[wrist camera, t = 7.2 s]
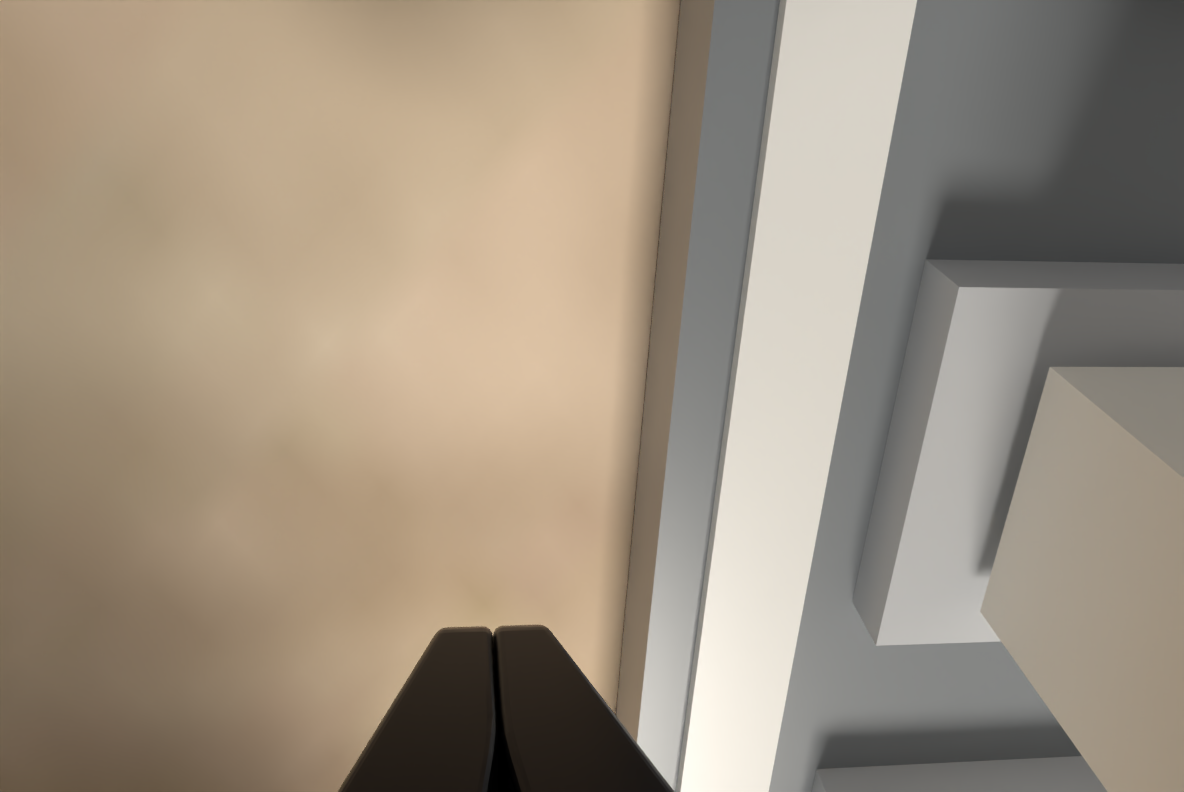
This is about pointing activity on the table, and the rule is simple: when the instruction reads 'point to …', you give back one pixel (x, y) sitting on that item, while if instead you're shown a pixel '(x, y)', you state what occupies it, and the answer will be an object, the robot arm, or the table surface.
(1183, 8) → the panel
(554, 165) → the table surface
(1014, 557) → the toggle mid
